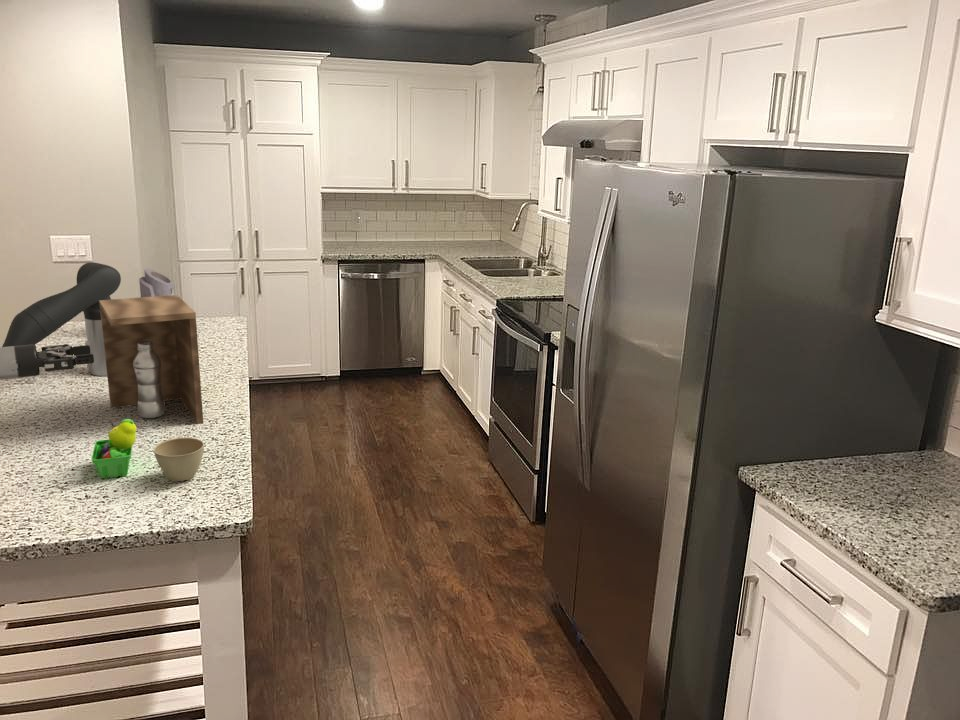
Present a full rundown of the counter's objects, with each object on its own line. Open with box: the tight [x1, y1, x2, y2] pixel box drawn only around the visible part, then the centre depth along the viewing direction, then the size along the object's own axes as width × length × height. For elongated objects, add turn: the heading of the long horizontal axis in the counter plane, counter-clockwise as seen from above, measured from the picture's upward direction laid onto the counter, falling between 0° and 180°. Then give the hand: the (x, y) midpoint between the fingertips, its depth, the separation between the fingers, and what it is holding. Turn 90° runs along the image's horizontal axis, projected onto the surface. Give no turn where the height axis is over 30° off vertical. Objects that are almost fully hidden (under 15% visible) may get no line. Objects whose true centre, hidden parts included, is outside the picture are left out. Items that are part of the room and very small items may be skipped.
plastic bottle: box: [133, 341, 166, 419], centre depth 194 cm, size 6×7×20 cm
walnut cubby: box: [99, 294, 204, 425], centre depth 195 cm, size 19×23×29 cm
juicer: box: [111, 268, 176, 300], centre depth 270 cm, size 30×16×24 cm, turn 96°
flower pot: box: [153, 437, 205, 482], centre depth 163 cm, size 10×10×7 cm
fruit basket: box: [91, 418, 137, 479], centre depth 165 cm, size 11×9×11 cm
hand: (91, 353), depth 186 cm, fingers open, 8 cm apart
